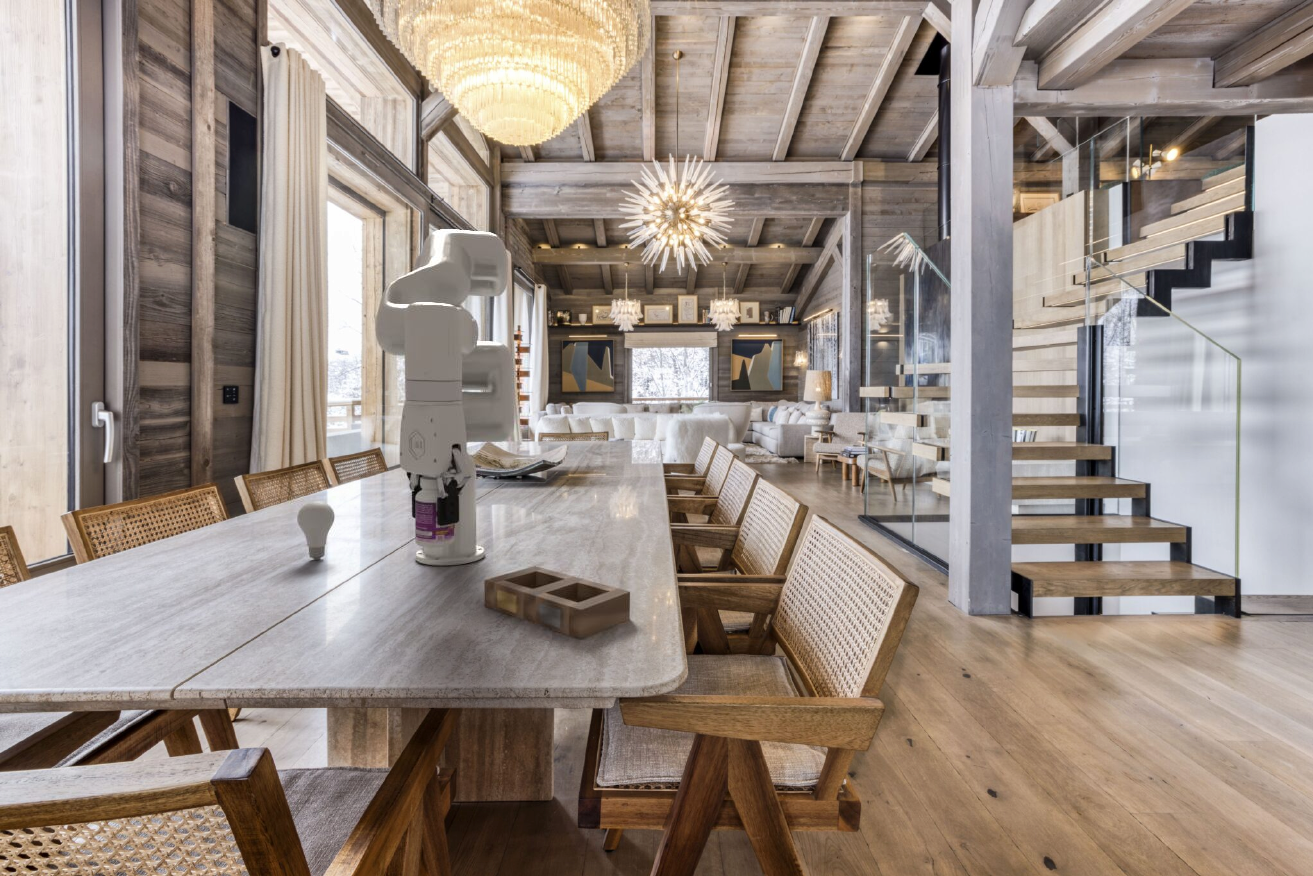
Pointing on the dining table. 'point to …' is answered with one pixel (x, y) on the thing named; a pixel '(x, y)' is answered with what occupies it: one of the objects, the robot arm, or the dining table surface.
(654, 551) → the dining table surface
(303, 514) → the lightbulb
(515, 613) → the socket block
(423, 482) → the pill bottle
